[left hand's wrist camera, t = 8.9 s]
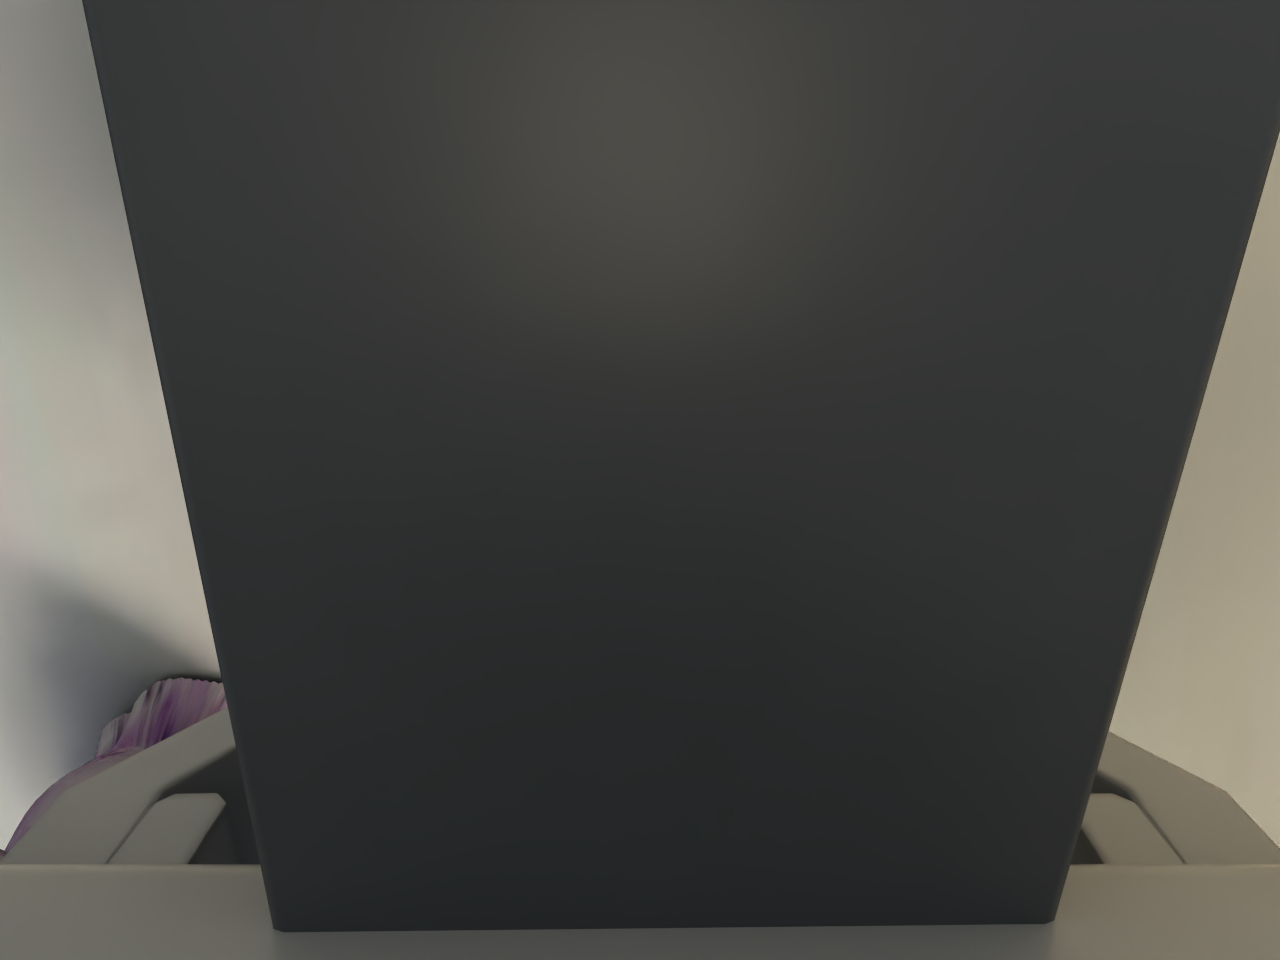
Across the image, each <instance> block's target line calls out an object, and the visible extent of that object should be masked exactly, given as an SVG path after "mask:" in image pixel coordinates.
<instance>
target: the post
mask: <svg viewBox="0 0 1280 960" xmlns="http://www.w3.org/2000/svg"><path fill="white" fill-rule="evenodd" d="M82 2H83V7H84V12H85V16H86V21H87V26H88V31H89V36H90V41H91V46H92V50H93V55H94V60H95V65H96V70H97V75H98V80H99V84H100V89H101V94H102V99H103V104H104V109H105V114H106V118H107V123H108V128H109V133H110V138H111V143H112V148H113V152H114V157H115V162H116V167H117V172H118V177H119V182H120V186H121V191H122V196H123V201H124V206H125V211H126V216H127V220H128V225H129V230H130V235H131V240H132V245H133V250H134V254H135V259H136V264H137V269H138V274H139V279H140V284H141V288H142V293H143V298H144V303H145V308H146V313H147V317H148V322H149V327H150V332H151V337H152V342H153V347H154V351H155V356H156V361H157V366H158V371H159V376H160V381H161V385H162V390H163V395H164V400H165V405H166V410H167V415H168V419H169V424H170V429H171V434H172V439H173V444H174V449H175V453H176V458H177V463H178V468H179V473H180V478H181V483H182V487H183V492H184V497H185V502H186V507H187V512H188V517H189V521H190V526H191V531H192V536H193V541H194V546H195V551H196V555H197V560H198V565H199V570H200V575H201V580H202V585H203V589H204V594H205V599H206V604H207V609H208V614H209V619H210V623H211V628H212V633H213V638H214V643H215V648H216V653H217V657H218V662H219V667H220V672H221V677H222V682H223V686H224V691H225V696H226V701H227V706H228V711H229V716H230V720H231V725H232V730H233V735H234V740H235V745H236V750H237V754H238V759H239V764H240V769H241V774H242V779H243V784H244V788H245V793H246V798H247V803H248V808H249V813H250V818H251V822H252V827H253V832H254V837H255V842H256V847H257V852H258V856H259V861H260V866H261V871H262V876H263V881H264V886H265V890H266V895H267V900H268V905H269V910H270V915H271V920H272V924H273V929H276V930H278V931H281V932H362V931H453V930H544V929H635V928H726V927H817V926H907V925H998V924H1046V923H1049V922H1051V921H1054V920H1055V916H1056V913H1057V909H1058V906H1059V902H1060V899H1061V895H1062V892H1063V888H1064V885H1065V881H1066V878H1067V874H1068V871H1069V867H1070V864H1071V860H1072V857H1073V853H1074V850H1075V846H1076V843H1077V839H1078V836H1079V832H1080V829H1081V825H1082V822H1083V818H1084V815H1085V811H1086V808H1087V804H1088V801H1089V797H1090V794H1091V790H1092V787H1093V783H1094V780H1095V776H1096V773H1097V769H1098V766H1099V762H1100V759H1101V755H1102V752H1103V748H1104V745H1105V741H1106V738H1107V734H1108V730H1109V727H1110V723H1111V720H1112V716H1113V713H1114V709H1115V706H1116V702H1117V699H1118V695H1119V692H1120V688H1121V685H1122V681H1123V678H1124V674H1125V671H1126V667H1127V664H1128V660H1129V657H1130V653H1131V650H1132V646H1133V643H1134V639H1135V636H1136V632H1137V629H1138V625H1139V622H1140V618H1141V615H1142V611H1143V608H1144V604H1145V601H1146V597H1147V594H1148V590H1149V587H1150V583H1151V580H1152V576H1153V573H1154V569H1155V566H1156V562H1157V559H1158V555H1159V552H1160V548H1161V545H1162V541H1163V538H1164V534H1165V531H1166V527H1167V524H1168V520H1169V517H1170V513H1171V510H1172V506H1173V503H1174V499H1175V496H1176V492H1177V489H1178V485H1179V482H1180V478H1181V475H1182V471H1183V468H1184V464H1185V461H1186V457H1187V454H1188V450H1189V447H1190V443H1191V440H1192V436H1193V433H1194V429H1195V426H1196V422H1197V419H1198V415H1199V412H1200V408H1201V405H1202V401H1203V398H1204V394H1205V391H1206V387H1207V384H1208V380H1209V377H1210V373H1211V370H1212V366H1213V363H1214V359H1215V356H1216V352H1217V349H1218V345H1219V342H1220V338H1221V335H1222V331H1223V328H1224V324H1225V321H1226V317H1227V314H1228V310H1229V307H1230V303H1231V300H1232V296H1233V293H1234V289H1235V286H1236V282H1237V279H1238V275H1239V272H1240V268H1241V265H1242V261H1243V258H1244V254H1245V251H1246V247H1247V244H1248V240H1249V237H1250V233H1251V230H1252V226H1253V223H1254V219H1255V216H1256V212H1257V209H1258V205H1259V202H1260V198H1261V195H1262V191H1263V188H1264V184H1265V181H1266V177H1267V174H1268V170H1269V167H1270V163H1271V160H1272V156H1273V153H1274V149H1275V146H1276V142H1277V138H1278V135H1279V131H1280V0H82Z"/></svg>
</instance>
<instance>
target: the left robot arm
mask: <svg viewBox="0 0 1280 960" xmlns="http://www.w3.org/2000/svg"><path fill="white" fill-rule="evenodd" d="M0 960H1280V848H1279V847H1278V846H1277V845H1276V844H1275V843H1274V842H1273V841H1272V840H1271V839H1270V838H1269V837H1268V836H1267V834H1266V833H1265V832H1264V831H1263V830H1262V829H1261V828H1260V827H1259V826H1258V825H1257V824H1256V823H1255V822H1254V821H1253V820H1252V819H1251V817H1250V816H1249V815H1248V814H1247V813H1246V812H1245V811H1244V810H1243V809H1242V808H1241V807H1240V806H1239V805H1238V804H1237V803H1236V802H1235V801H1234V799H1233V798H1232V797H1231V796H1230V795H1229V794H1228V793H1227V792H1226V791H1224V790H1222V789H1220V788H1218V787H1216V786H1214V785H1213V784H1211V783H1209V782H1207V781H1205V780H1203V779H1201V778H1199V777H1197V776H1195V775H1193V774H1191V773H1189V772H1187V771H1185V770H1183V769H1181V768H1179V767H1177V766H1175V765H1173V764H1171V763H1169V762H1168V761H1166V760H1164V759H1162V758H1160V757H1158V756H1156V755H1154V754H1152V753H1150V752H1148V751H1146V750H1144V749H1142V748H1140V747H1138V746H1136V745H1134V744H1132V743H1130V742H1128V741H1126V740H1124V739H1122V738H1121V737H1119V736H1117V735H1115V734H1113V733H1111V732H1109V731H1108V734H1107V738H1106V741H1105V745H1104V748H1103V752H1102V755H1101V759H1100V762H1099V766H1098V769H1097V773H1096V776H1095V780H1094V783H1093V787H1092V790H1091V794H1090V797H1089V801H1088V804H1087V808H1086V811H1085V815H1084V818H1083V822H1082V825H1081V829H1080V832H1079V836H1078V839H1077V843H1076V846H1075V850H1074V853H1073V857H1072V860H1071V864H1070V867H1069V871H1068V874H1067V878H1066V881H1065V885H1064V888H1063V892H1062V895H1061V899H1060V902H1059V906H1058V909H1057V913H1056V916H1055V920H1054V921H1051V922H1049V923H1046V924H998V925H907V926H817V927H726V928H635V929H544V930H453V931H362V932H281V931H278V930H276V929H273V924H272V920H271V915H270V910H269V905H268V900H267V895H266V890H265V886H264V881H263V876H262V871H261V866H260V861H259V856H258V852H257V847H256V842H255V837H254V832H253V827H252V822H251V818H250V813H249V808H248V803H247V798H246V793H245V788H244V784H243V779H242V774H241V769H240V764H239V759H238V754H237V750H236V745H235V740H234V735H233V730H232V725H231V720H230V716H229V711H228V707H227V708H225V709H223V710H221V711H219V712H217V713H215V714H213V715H211V716H209V717H207V718H205V719H203V720H201V721H200V722H198V723H196V724H194V725H192V726H190V727H188V728H186V729H184V730H182V731H180V732H178V733H176V734H174V735H172V736H170V737H168V738H166V739H165V740H163V741H161V742H159V743H157V744H155V745H153V746H151V747H149V748H147V749H145V750H143V751H141V752H139V753H137V754H135V755H133V756H131V757H130V758H128V759H126V760H124V761H122V762H120V763H118V764H116V765H114V766H112V767H110V768H108V769H106V770H104V771H102V772H100V773H98V774H96V775H95V776H93V777H91V778H89V779H87V780H85V781H83V782H81V783H79V784H77V785H75V786H73V787H71V788H69V789H67V790H66V791H65V792H64V793H63V794H62V795H61V796H60V797H59V798H58V799H57V800H56V802H55V803H54V804H53V805H52V806H51V807H50V808H49V809H48V810H47V811H46V812H45V813H44V814H43V815H42V817H41V818H40V819H39V820H38V821H37V822H36V823H35V824H34V825H33V826H32V827H31V828H30V829H29V831H28V832H27V833H26V834H25V835H24V836H23V837H22V838H21V839H20V840H19V841H18V842H17V843H16V844H15V846H14V847H13V848H12V849H11V850H10V851H9V852H8V853H7V854H6V855H5V856H4V857H3V858H2V859H1V861H0Z"/></svg>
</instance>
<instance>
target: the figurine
mask: <svg viewBox="0 0 1280 960" xmlns="http://www.w3.org/2000/svg"><path fill="white" fill-rule="evenodd" d="M227 707H228V706H227V701H226V696H225V691H224V686H223V683H222V682H221V683H219V684H218V683H216V682H215V681H213V682H208V681H207V680H205V681H200V680H199V679H197V680H192V679H190V678H189V679H184V678H177V679H174V680H172V679H171V678H169V679H167V680H164V681H157V682H156V683H154V684H153V685H152V686H150V687H149V688H148V689H146V690H145V691H144V692H143V693H142V694H141V695H140V697H139V698H138V699H137V701H136V702H135V704H134V707H133V709H132V711H131V712H130V713H128V714H127V713H126V712H125V713H123V714H121V715H119V716H117V717H116V718H114V719H113V720H112V721H111V722H110V723H108V724H107V725H106V726H105V727H104V728H103V729H102V735H101V736H100V739H99V744H98V746H97V752H96V755H95V757H94V759H93V760H91V761H89V762H88V763H86V764H85V765H83V766H82V767H80V768H78V769H76V770H74V771H72V772H70V773H69V774H67V775H65V776H64V777H62V778H61V779H60V780H58V781H57V782H56V783H54V784H53V785H52V786H51V787H49V788H48V789H47V790H46V791H45V792H44V793H43V794H42V795H41V796H40V797H39V798H38V799H37V800H36V801H35V802H34V804H33V805H32V806H31V807H30V809H29V810H28V811H27V813H26V814H25V815H24V817H23V819H22V821H21V822H20V824H19V826H18V827H17V829H16V831H15V832H14V834H13V836H12V838H11V840H10V842H9V843H8V845H7V847H6V849H5V851H4V850H1V849H0V861H1V859H2V858H3V857H4V856H5V855H6V854H7V853H8V852H9V851H10V850H11V849H12V848H13V847H14V846H15V844H16V843H17V842H18V841H19V840H20V839H21V838H22V837H23V836H24V835H25V834H26V833H27V832H28V831H29V829H30V828H31V827H32V826H33V825H34V824H35V823H36V822H37V821H38V820H39V819H40V818H41V817H42V815H43V814H44V813H45V812H46V811H47V810H48V809H49V808H50V807H51V806H52V805H53V804H54V803H55V802H56V800H57V799H58V798H59V797H60V796H61V795H62V794H63V793H64V792H65V791H66V790H67V789H69V788H71V787H73V786H75V785H77V784H79V783H81V782H83V781H85V780H87V779H89V778H91V777H93V776H95V775H96V774H98V773H100V772H102V771H104V770H106V769H108V768H110V767H112V766H114V765H116V764H118V763H120V762H122V761H124V760H126V759H128V758H130V757H131V756H133V755H135V754H137V753H139V752H141V751H143V750H145V749H147V748H149V747H151V746H153V745H155V744H157V743H159V742H161V741H163V740H165V739H166V738H168V737H170V736H172V735H174V734H176V733H178V732H180V731H182V730H184V729H186V728H188V727H190V726H192V725H194V724H196V723H198V722H200V721H201V720H203V719H205V718H207V717H209V716H211V715H213V714H215V713H217V712H219V711H221V710H223V709H225V708H227Z"/></svg>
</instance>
